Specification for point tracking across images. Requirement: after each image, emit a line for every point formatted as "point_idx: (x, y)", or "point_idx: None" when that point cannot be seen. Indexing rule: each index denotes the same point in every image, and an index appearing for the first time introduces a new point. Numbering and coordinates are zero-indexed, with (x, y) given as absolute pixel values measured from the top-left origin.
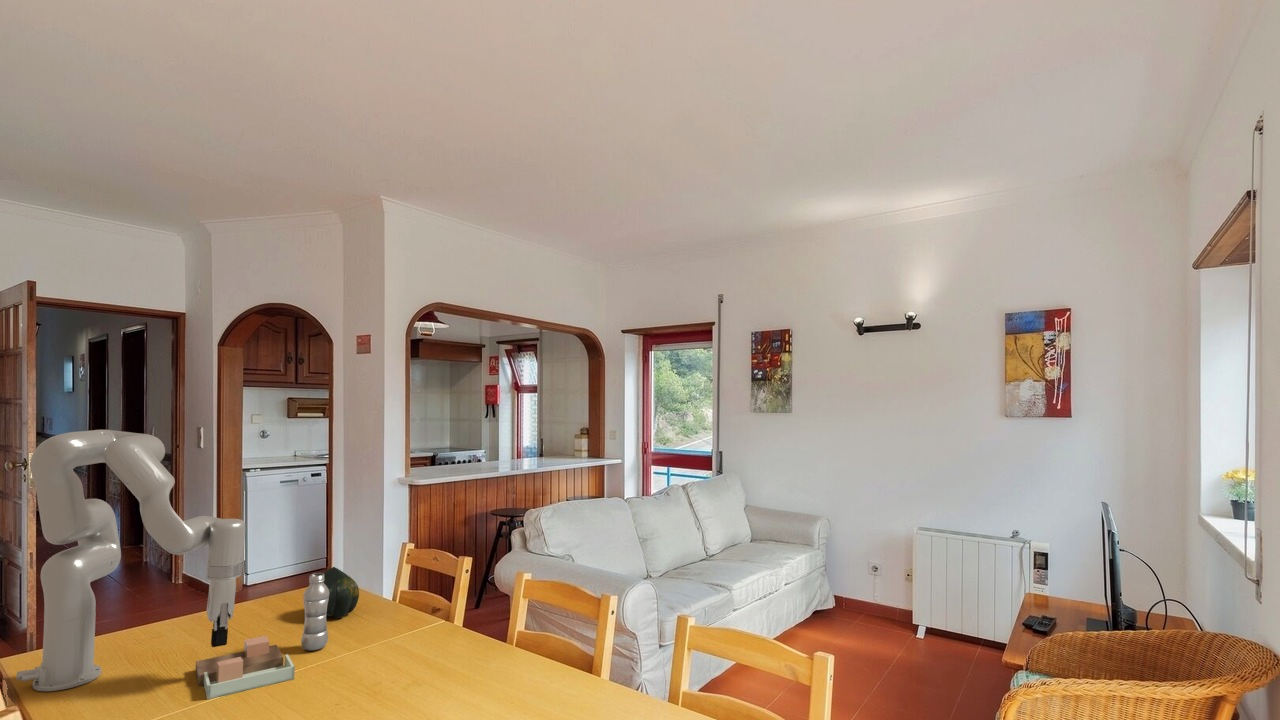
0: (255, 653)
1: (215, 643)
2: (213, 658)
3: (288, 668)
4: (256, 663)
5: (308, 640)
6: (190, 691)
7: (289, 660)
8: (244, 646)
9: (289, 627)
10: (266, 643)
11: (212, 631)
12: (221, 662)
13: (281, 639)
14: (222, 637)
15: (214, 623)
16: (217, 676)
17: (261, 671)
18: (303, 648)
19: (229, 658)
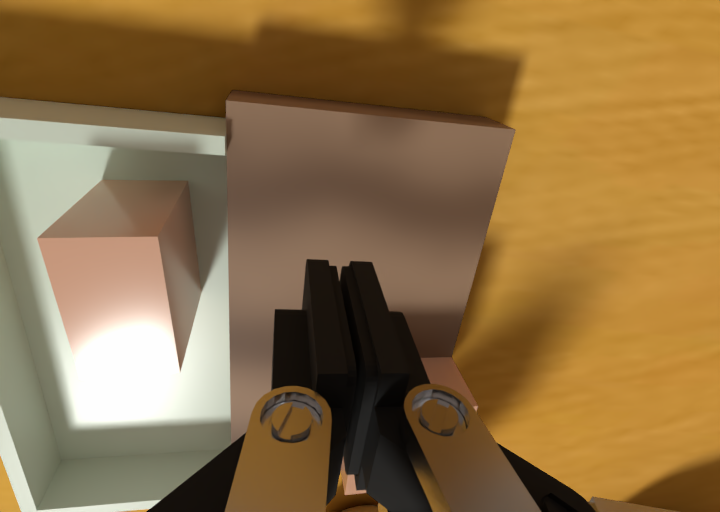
0: None
1: (304, 299)
2: (476, 223)
3: (18, 498)
4: (231, 387)
5: None
6: (171, 28)
7: (134, 505)
8: (456, 377)
9: (633, 472)
10: (345, 477)
11: (335, 363)
12: (128, 263)
13: (547, 448)
14: (271, 387)
15: (318, 490)
16: (128, 200)
17: (219, 374)
18: (358, 508)
19: (405, 292)
